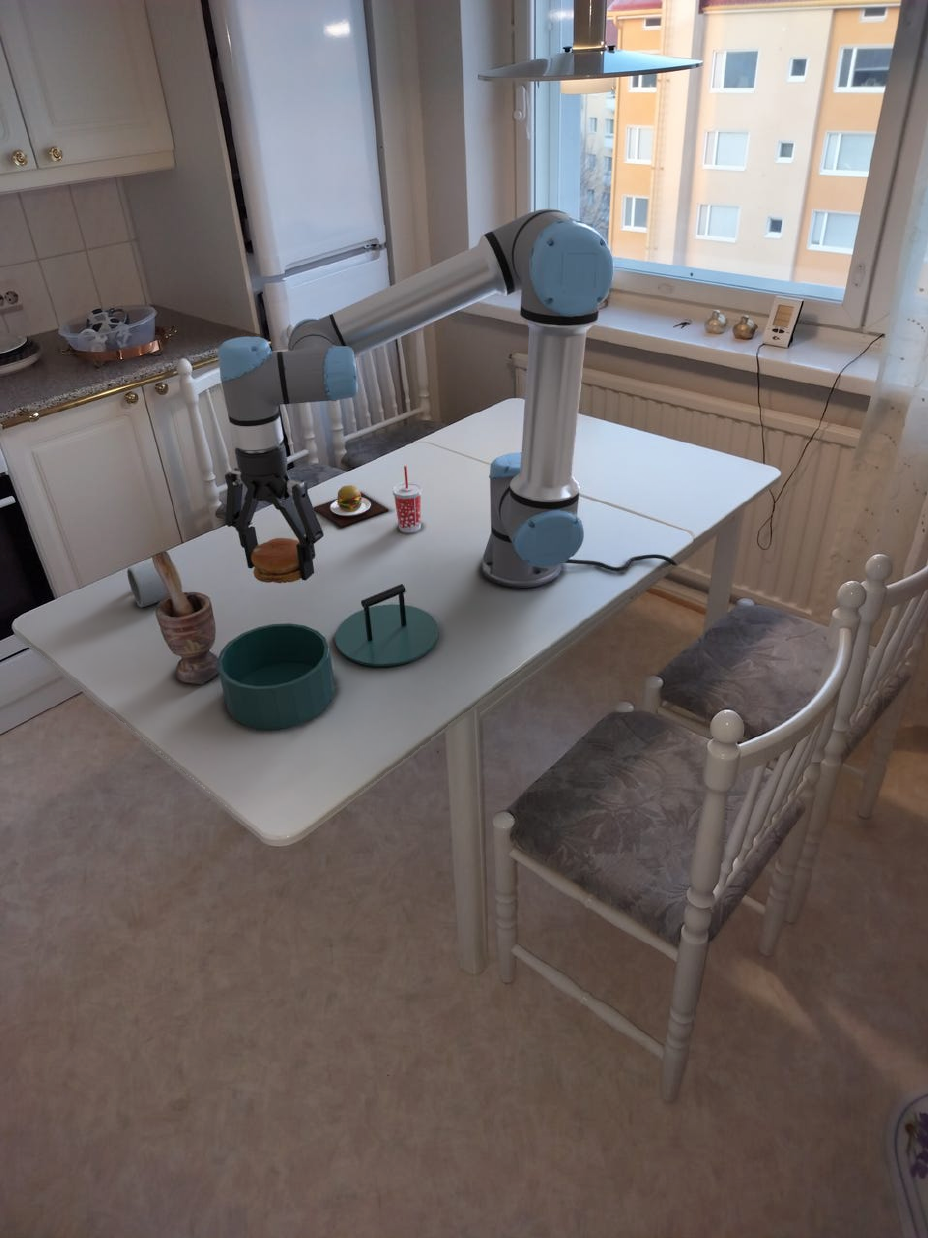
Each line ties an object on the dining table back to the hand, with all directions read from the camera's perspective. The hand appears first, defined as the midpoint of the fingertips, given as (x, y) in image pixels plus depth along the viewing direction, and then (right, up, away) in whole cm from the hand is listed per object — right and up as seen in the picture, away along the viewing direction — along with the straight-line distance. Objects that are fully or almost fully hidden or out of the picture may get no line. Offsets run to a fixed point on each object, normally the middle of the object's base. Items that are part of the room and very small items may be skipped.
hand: (281, 570), depth 144 cm
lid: (+17, -11, +7) cm, 21 cm away
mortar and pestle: (-15, -16, +2) cm, 22 cm away
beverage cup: (+19, +11, +41) cm, 46 cm away
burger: (0, 0, 0) cm, 1 cm away
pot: (+1, -20, -5) cm, 21 cm away
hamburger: (+5, +16, +48) cm, 51 cm away
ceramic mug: (-28, -4, +21) cm, 35 cm away
